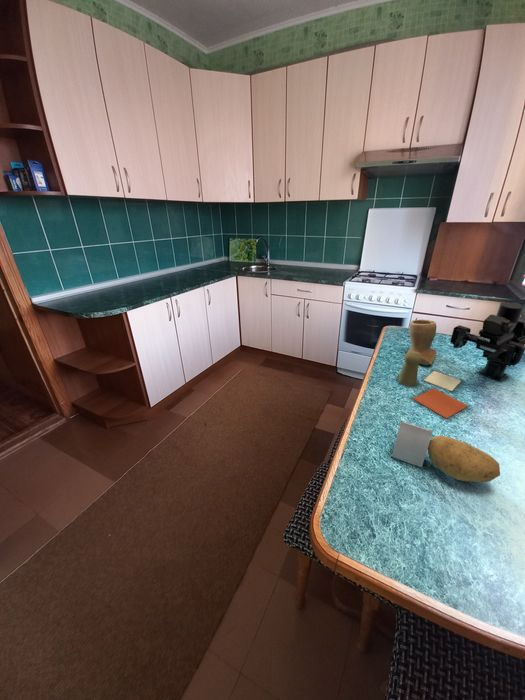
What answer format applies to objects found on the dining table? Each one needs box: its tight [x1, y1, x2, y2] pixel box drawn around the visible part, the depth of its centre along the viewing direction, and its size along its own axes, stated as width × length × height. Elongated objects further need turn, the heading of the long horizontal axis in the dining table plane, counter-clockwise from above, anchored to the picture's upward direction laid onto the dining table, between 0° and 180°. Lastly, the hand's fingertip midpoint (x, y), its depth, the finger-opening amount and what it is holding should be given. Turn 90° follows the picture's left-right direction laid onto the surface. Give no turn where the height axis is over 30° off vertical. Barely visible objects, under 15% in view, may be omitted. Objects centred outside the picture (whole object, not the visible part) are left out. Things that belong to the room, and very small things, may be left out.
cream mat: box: [423, 370, 462, 393], centre depth 102 cm, size 9×9×1 cm
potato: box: [427, 434, 501, 483], centre depth 66 cm, size 10×14×8 cm
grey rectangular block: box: [391, 420, 433, 468], centre depth 70 cm, size 4×7×10 cm, turn 59°
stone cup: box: [406, 319, 438, 366], centre depth 114 cm, size 15×12×15 cm
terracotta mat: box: [412, 387, 468, 420], centre depth 91 cm, size 11×11×1 cm
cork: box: [397, 351, 422, 387], centre depth 100 cm, size 6×6×11 cm
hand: (470, 352), depth 86 cm, fingers open, 9 cm apart
